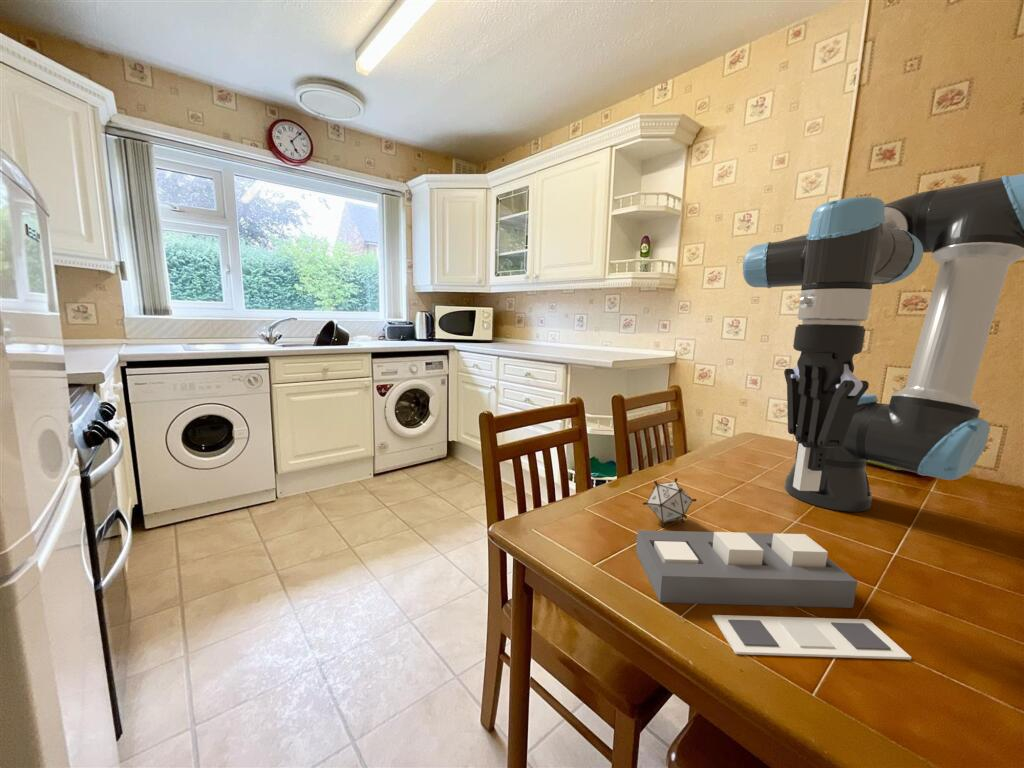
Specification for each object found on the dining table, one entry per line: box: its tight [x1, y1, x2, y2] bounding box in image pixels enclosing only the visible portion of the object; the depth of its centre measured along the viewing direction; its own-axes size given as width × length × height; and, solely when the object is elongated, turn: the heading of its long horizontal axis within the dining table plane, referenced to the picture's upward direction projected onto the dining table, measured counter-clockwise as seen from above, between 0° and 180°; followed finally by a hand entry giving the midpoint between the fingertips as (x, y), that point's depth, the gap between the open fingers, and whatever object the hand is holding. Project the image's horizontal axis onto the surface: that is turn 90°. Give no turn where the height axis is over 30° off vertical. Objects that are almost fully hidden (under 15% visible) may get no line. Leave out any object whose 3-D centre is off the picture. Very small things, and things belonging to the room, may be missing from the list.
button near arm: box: [771, 532, 829, 567], centre depth 61 cm, size 5×5×3 cm
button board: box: [635, 529, 858, 609], centre depth 62 cm, size 26×12×4 cm, turn 89°
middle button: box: [712, 531, 764, 566], centre depth 62 cm, size 5×5×3 cm
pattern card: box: [711, 614, 912, 660], centre depth 51 cm, size 20×6×1 cm, turn 89°
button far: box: [654, 541, 699, 564], centre depth 62 cm, size 5×5×3 cm
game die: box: [642, 477, 698, 528], centre depth 78 cm, size 9×8×10 cm
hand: (805, 488), depth 60 cm, fingers closed
